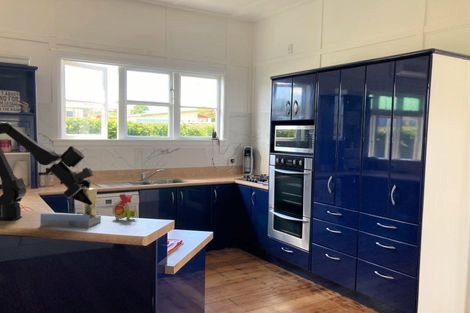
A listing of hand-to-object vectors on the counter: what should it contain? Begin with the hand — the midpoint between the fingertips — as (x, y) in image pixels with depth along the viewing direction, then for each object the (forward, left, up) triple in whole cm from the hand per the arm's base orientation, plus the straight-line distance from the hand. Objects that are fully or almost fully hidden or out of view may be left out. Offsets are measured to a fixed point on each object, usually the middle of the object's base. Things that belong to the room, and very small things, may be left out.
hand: (93, 203), depth 154 cm
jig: (-4, -9, -7) cm, 12 cm away
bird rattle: (+12, +2, -7) cm, 14 cm away
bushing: (-1, 0, -7) cm, 7 cm away
